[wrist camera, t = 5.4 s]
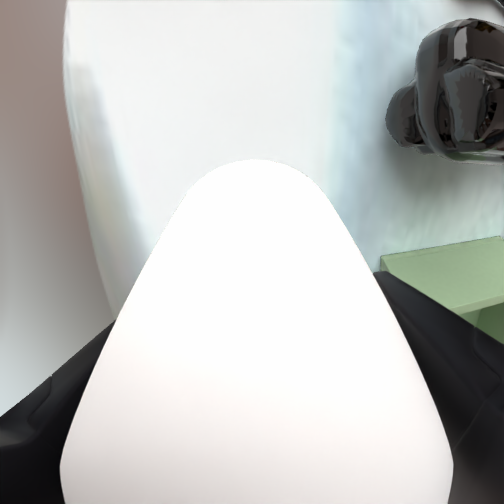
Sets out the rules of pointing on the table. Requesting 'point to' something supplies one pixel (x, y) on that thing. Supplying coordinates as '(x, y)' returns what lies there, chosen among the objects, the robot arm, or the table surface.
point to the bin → (459, 279)
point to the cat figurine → (455, 95)
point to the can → (256, 365)
